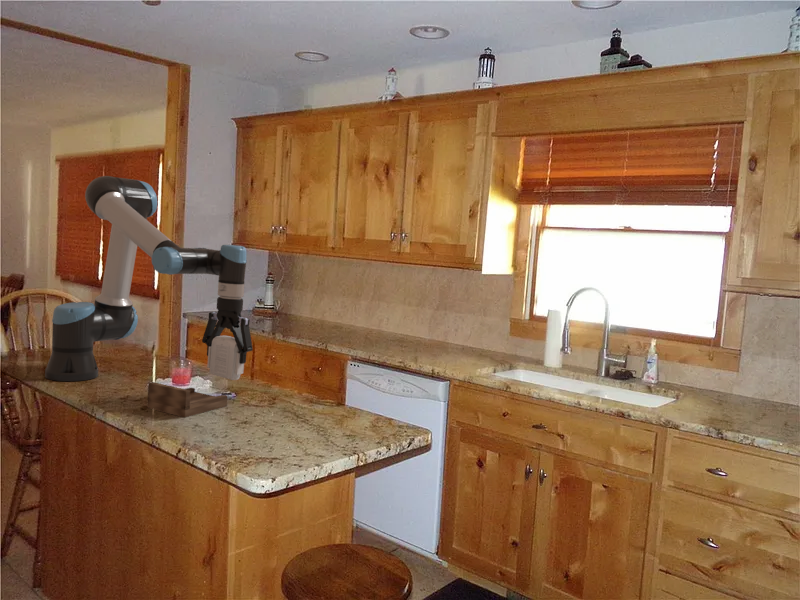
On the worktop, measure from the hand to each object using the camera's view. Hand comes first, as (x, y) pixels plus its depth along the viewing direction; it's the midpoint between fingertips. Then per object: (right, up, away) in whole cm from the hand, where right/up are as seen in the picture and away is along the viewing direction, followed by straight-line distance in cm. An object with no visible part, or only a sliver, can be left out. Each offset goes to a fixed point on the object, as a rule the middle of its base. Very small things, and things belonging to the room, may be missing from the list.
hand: (225, 370), depth 194 cm
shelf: (-7, -9, -13) cm, 17 cm away
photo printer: (0, -2, 0) cm, 2 cm away
